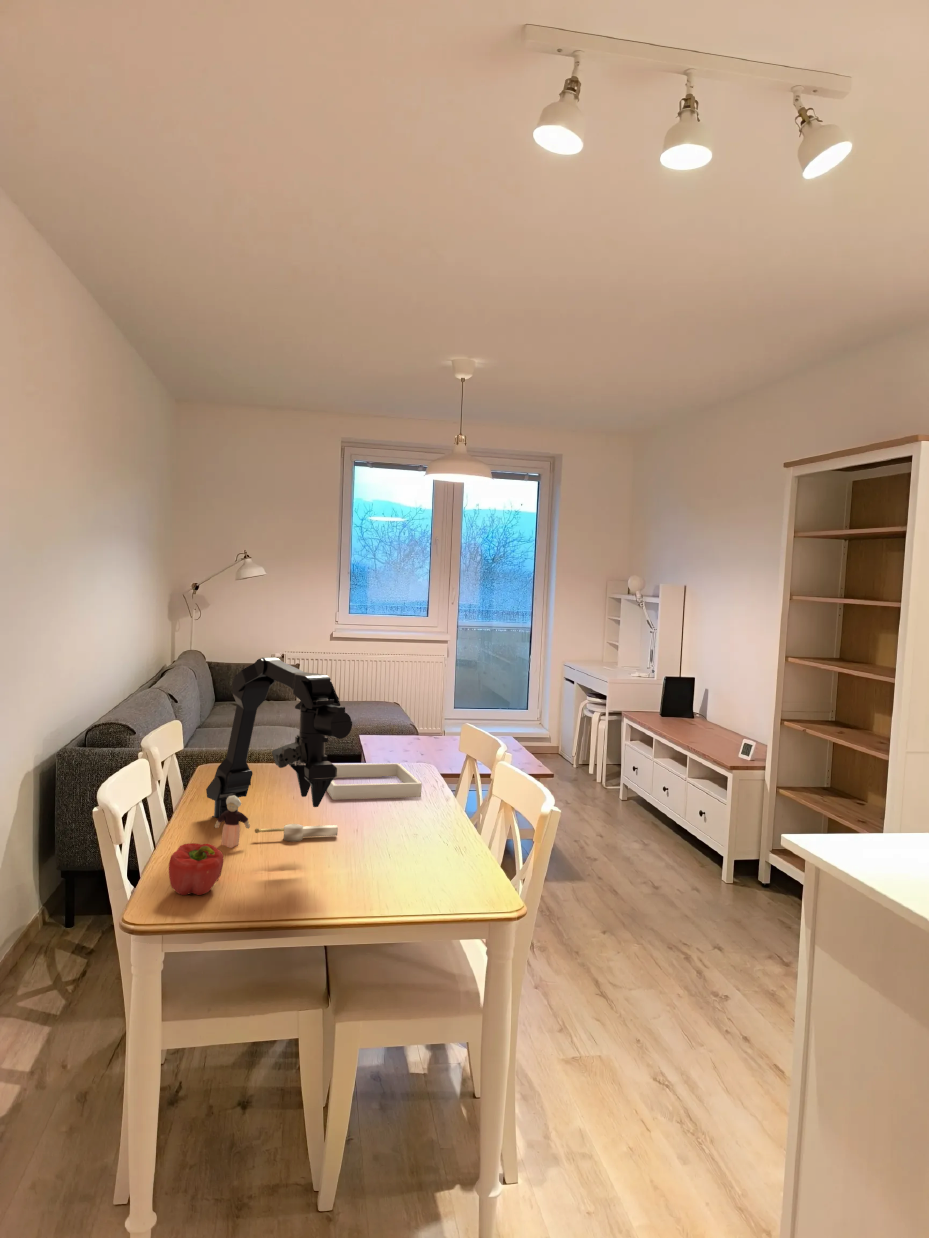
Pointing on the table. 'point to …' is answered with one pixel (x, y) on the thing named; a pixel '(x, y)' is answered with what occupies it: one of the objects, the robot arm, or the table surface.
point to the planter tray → (368, 791)
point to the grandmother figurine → (232, 822)
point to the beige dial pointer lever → (303, 831)
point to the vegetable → (195, 868)
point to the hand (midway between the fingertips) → (309, 801)
